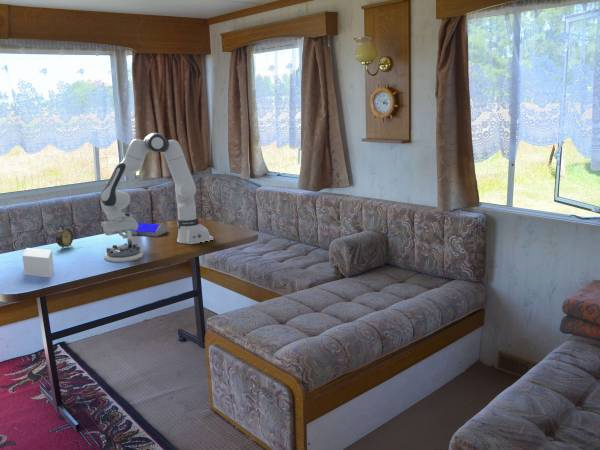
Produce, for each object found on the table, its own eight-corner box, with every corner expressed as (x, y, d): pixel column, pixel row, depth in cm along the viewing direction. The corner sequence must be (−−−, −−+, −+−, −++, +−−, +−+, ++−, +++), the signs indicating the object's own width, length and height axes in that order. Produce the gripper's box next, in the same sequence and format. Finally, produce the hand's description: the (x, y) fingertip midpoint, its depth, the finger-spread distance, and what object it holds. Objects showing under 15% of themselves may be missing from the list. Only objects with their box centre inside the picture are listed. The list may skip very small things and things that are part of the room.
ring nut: (138, 247, 318) (137, 229, 315) (141, 255, 301) (140, 235, 299) (106, 250, 311) (104, 232, 309) (107, 258, 295) (105, 239, 293)
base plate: (141, 250, 320) (140, 239, 319) (145, 259, 301) (144, 248, 299) (103, 254, 313) (102, 243, 311) (104, 263, 294) (103, 252, 292)
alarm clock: (63, 250, 321) (60, 224, 317) (55, 250, 322) (52, 223, 318) (74, 246, 331) (71, 220, 328) (66, 245, 332) (63, 219, 329)
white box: (35, 281, 267) (33, 261, 264) (14, 269, 287) (12, 250, 284) (65, 274, 277) (63, 255, 275) (42, 263, 297) (40, 245, 294)
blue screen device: (167, 232, 365) (166, 221, 364) (156, 237, 352) (155, 226, 351) (138, 230, 372) (137, 220, 370) (126, 235, 359) (125, 224, 357)
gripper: (101, 218, 311) (110, 237, 306) (133, 213, 325) (143, 231, 321) (98, 225, 315) (107, 244, 310) (130, 219, 329) (140, 237, 325)
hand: (126, 237), depth 316 cm, fingers closed
